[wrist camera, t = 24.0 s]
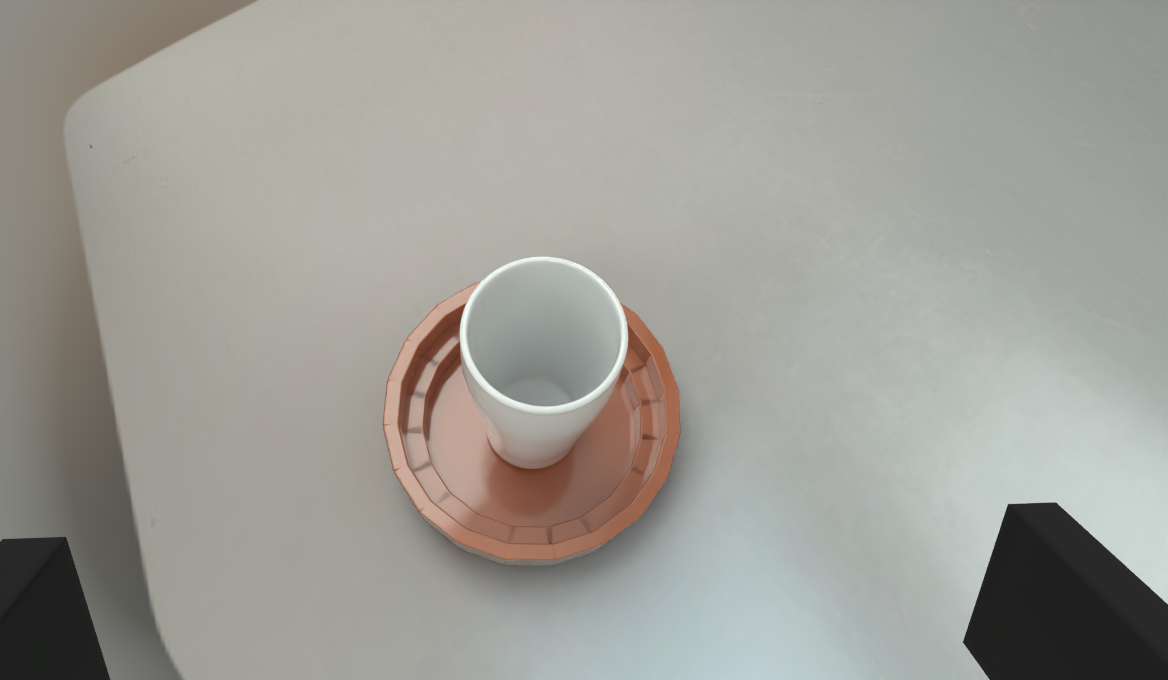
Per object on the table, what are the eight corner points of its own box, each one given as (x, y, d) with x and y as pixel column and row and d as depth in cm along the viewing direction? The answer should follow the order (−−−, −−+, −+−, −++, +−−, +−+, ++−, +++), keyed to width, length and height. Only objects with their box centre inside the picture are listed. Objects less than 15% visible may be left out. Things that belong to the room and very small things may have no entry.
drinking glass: (468, 375, 44) (450, 260, 30) (582, 363, 45) (616, 246, 31) (478, 491, 42) (465, 425, 28) (599, 476, 43) (644, 404, 29)
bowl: (432, 604, 40) (423, 602, 36) (369, 340, 45) (355, 311, 41) (701, 517, 43) (722, 506, 39) (615, 279, 48) (625, 246, 44)
